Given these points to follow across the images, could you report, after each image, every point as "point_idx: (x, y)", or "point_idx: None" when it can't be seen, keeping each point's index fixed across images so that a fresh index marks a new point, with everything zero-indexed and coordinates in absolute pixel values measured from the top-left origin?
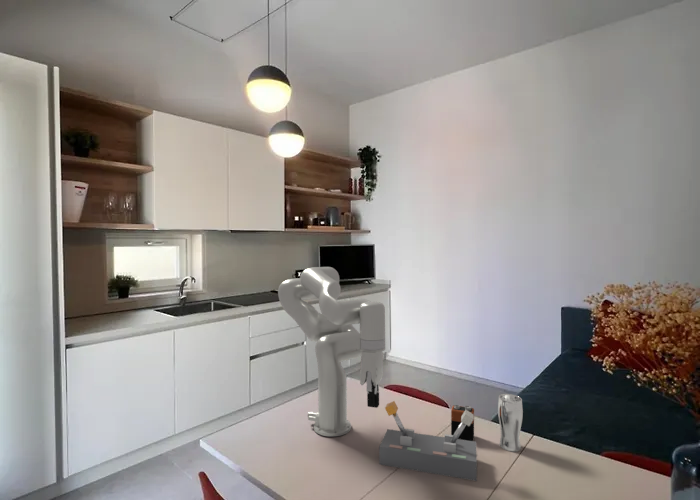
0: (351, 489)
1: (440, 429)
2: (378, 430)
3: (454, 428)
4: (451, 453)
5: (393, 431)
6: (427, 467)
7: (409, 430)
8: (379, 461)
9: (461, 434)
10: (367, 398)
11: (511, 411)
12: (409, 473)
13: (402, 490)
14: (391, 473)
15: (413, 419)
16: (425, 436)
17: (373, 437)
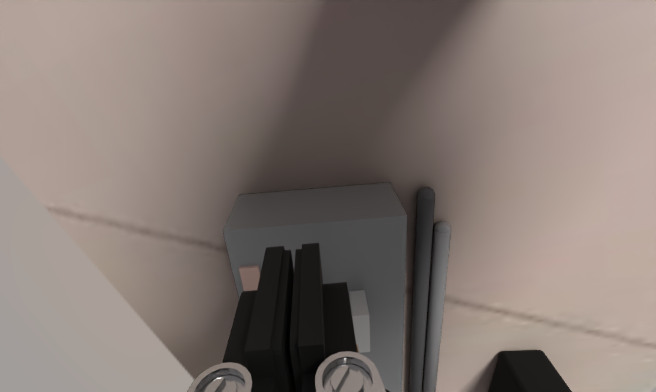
0: (32, 155)
1: (559, 315)
2: (520, 104)
3: (514, 388)
4: None
5: (391, 245)
6: None
7: (356, 339)
8: (236, 200)
9: (500, 388)
10: (257, 297)
11: None
12: (236, 290)
13: (140, 293)
14: (206, 245)
15: (648, 219)
16: (386, 355)
17: (444, 103)
